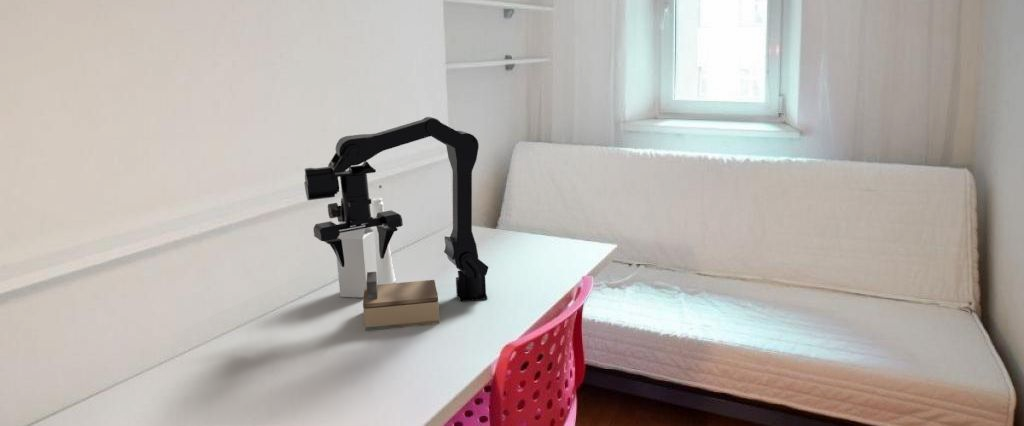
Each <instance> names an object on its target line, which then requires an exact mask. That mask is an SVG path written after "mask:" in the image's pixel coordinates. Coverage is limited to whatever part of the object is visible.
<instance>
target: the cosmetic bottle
mask: <svg viewBox="0 0 1024 426" xmlns="http://www.w3.org/2000/svg"><path fill="white" fill-rule="evenodd" d="M382 200H383V198H382V197H376V198H373V199H372V202H371V204H372V217H373V218H376V217H377V213H379V212H385V208H384V205H385V204H384V202H383V201H382ZM371 229H372V230H373V232H374V243H375V255H376V266H377V278H378V285H381V284H392V283H396V281H397V279H396V275H395V270H394V266H393V260H392V253H391V246H390V243H389V244H388V247H387V250H386V253H385V255H384V258H383V259H382V258H380V253H379V234H378V230H377V227H376V226H374V227H371Z"/></svg>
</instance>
